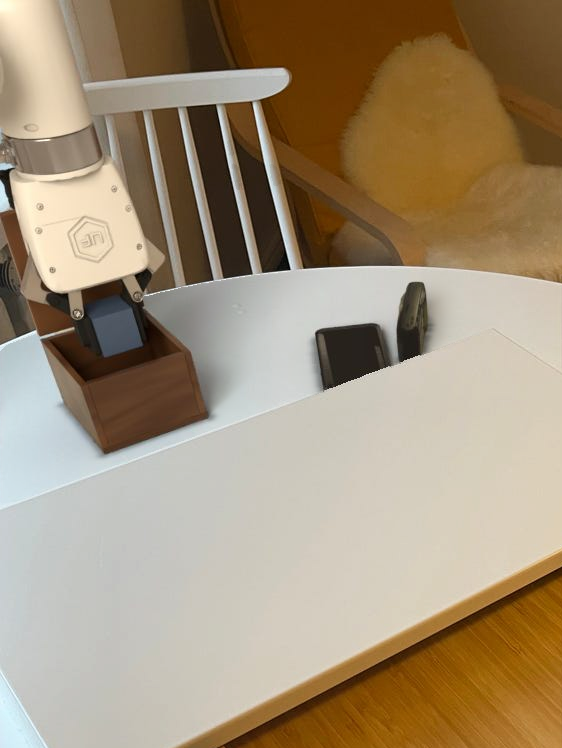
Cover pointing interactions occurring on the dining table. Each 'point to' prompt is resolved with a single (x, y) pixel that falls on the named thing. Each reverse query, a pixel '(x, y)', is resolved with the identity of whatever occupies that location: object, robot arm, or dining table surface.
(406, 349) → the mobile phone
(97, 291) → the lid
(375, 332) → the phone
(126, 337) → the block
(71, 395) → the chest
